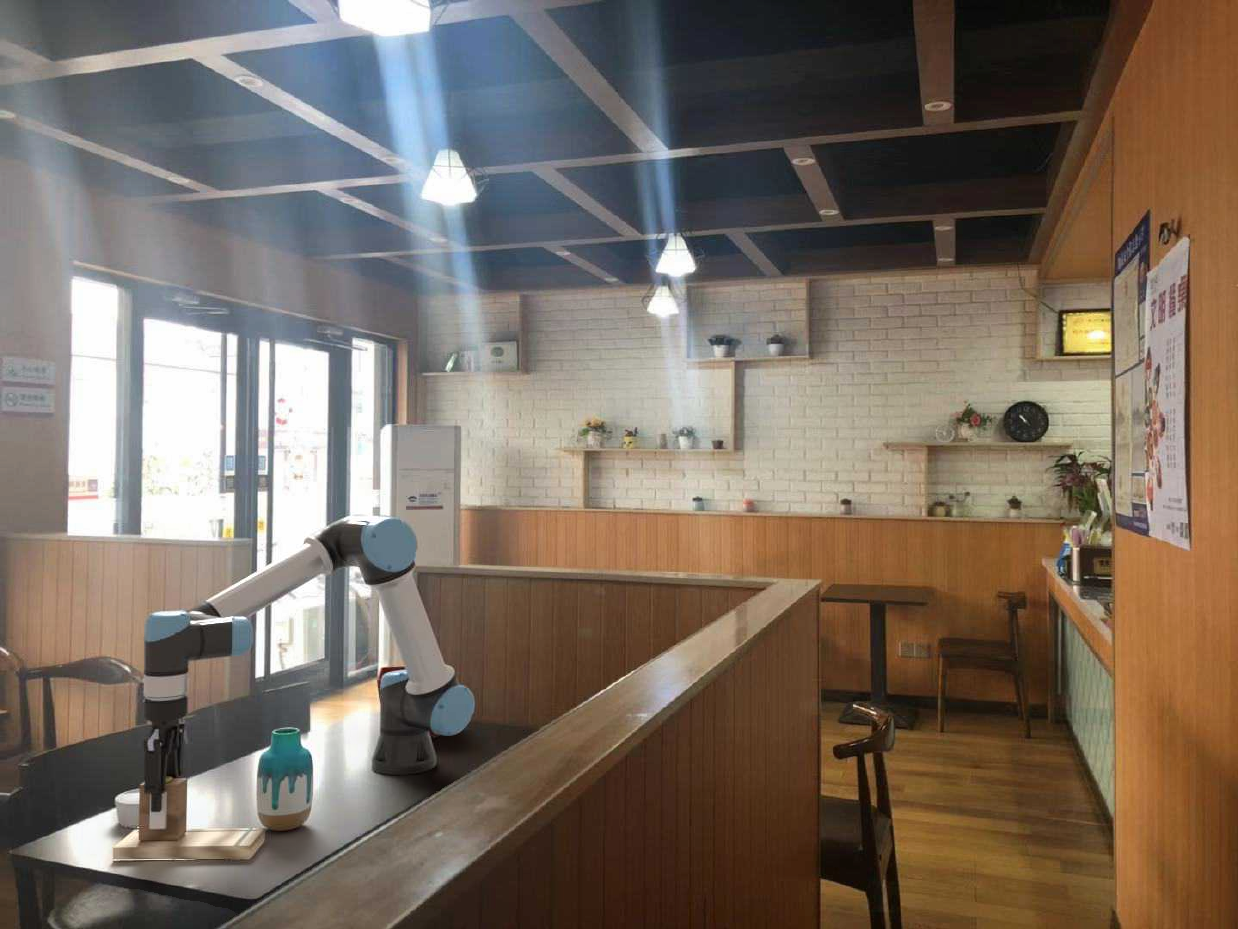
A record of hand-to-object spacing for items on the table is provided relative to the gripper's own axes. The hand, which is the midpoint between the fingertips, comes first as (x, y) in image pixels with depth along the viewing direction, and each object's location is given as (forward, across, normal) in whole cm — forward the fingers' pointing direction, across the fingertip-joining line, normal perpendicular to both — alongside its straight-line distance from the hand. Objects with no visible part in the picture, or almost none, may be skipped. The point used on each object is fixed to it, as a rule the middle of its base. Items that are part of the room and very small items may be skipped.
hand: (163, 823), depth 180 cm
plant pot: (+5, -84, +34) cm, 91 cm away
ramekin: (+5, -17, -10) cm, 20 cm away
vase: (+5, -12, +19) cm, 23 cm away
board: (+5, 0, +5) cm, 7 cm away
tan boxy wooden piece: (+2, -2, 0) cm, 3 cm away
